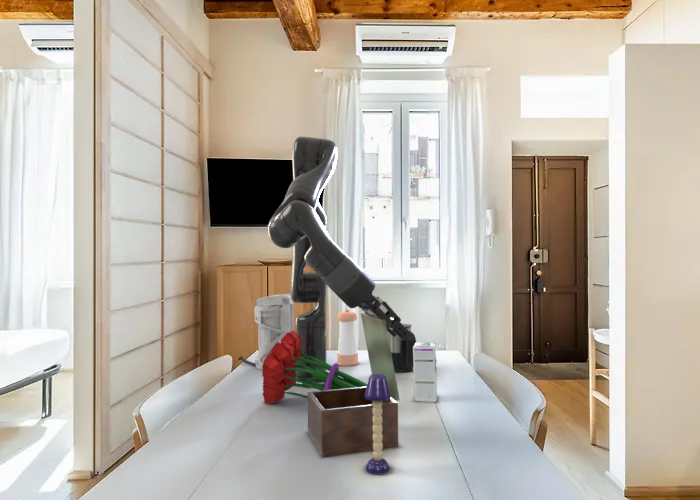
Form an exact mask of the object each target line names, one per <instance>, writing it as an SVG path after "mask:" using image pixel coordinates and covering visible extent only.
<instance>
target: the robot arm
mask: <svg viewBox="0 0 700 500" xmlns="http://www.w3.org/2000/svg"><path fill="white" fill-rule="evenodd" d="M291 158H292V160H291V161H292V181H291V183H290V184H289V186H288V189H287V191H286V194H285V196H284V199H283V201H282V202H281V204H280V205H279V206H278V208H277V209H276V210H275V212H274V214H273V215H272V216H271V218H270V219H269V222H268V226H267V233H268V237H269V238H270V240H271V242H272V243H273V244H274V245H275V246H277V247H278V248H281V249H290V248H292V260H291V271H290V283H289V294H290V296H291V299H292V301H293V303H295V304H315V305H314V307H312V308H311V309H310V310H308V311H305V312H304V313H301V314H299V315H297V316H296V317H295V322H294V323H295V332H296V333H297V334H298V335H300V337H301V346H302V348H301V351H303V353H304V354H305V355H307V356H310V357H313V358H316V359H319V360H321V361H324V362H326V363H327V364H328V362H327V361H328V359H327V357H328V355H327V354H328V353H327V289H328V288H329V290H331V292H333V293H334V294H335V295H336V296H337V297H338V298H339V299H340V300H341V301H342V302H343V303H344V304H345V305H346V306H347V307H348V309H356V308H359V309H360V310H361V311H362V313H363V312H364V313H366V314H368V315H372V316H373V317H375V318H376V317H379V318H381V319H384V320H385V322H386V325H387V326H388V327H389V328H388V329H387V331H388V332H389V333H390V334H391V335H392V336H393V337H396V336H397V335H398V337H399V338H400V339H401V340H403V341H406V340H407V338H408V337H409V336H410V332H409V331H408V330H407V329H406V328H405V327H404V326H403V325H402V324H403V323H402V322H401V321H402V319H401V317H400V316H399V315H398V314H396V312H395V311H394V310H393V308H392V307H391V306H389V304H388V302H387V301H385V300H383V299H382V298H381V297H379V296H375V295H374V294H373V291H374V290H375V288H376V283H375V281H374V280H373V279H372V278H371V277H370V276H369V275H368V274H367V273H366V272H365V271H364V270H363V269H362V268H361V267H360V266H359V265H358V263H356V262H355V261H354V260H353V259H352V258H351V257H350V256H348V255H347V254H346V253H345V252H344V251H343V250H342V249H341V248H340V247H339V246H338V245H337V244H336V243H335V242H334V241H333V239H332V238H331V237H330V235H329V233H328V231H327V230H326V228H327V216H326V214H325V211H324V209H323V208H322V206H321V204H320V202H319V198H320V195H321V193H322V191H323V189H324V188H325V186H327V183H328V182H329V180H331V177H332V175H333V174H334V172H335V169H336V165H337V160H338V147H337V144H336V143H335V141H333V140H331V139H327V138H319V137H311V136H298V137H296V139H295V140H294V142H293V145H292V157H291ZM307 265H308V266H309V267H310V269H311V270H312V271H314V272H304V271H305V268H306V267H307ZM327 287H328V288H327ZM390 318H392V319H394V320H393V321H392V322H390V321H389V320H390ZM400 322H401V323H400ZM300 359H305V357H303V356H301V357H300ZM308 359H309V358H308ZM237 360H238V361H242V362H243V363H245V364H247V365H250V366H253V367H256V364H255V362H253V361H250V360H247V359H245V358H244V356H243V355H240V356H239V357H238V359H237ZM309 360H311V359H309ZM298 361H299V360H298ZM312 361H314V360H312ZM299 362H301V363H302V364H303V365H305V366H308V367H312V366H311V365H310V364H309V363H308V362H304V361H299ZM296 364H297V365H300V364H299V363H298V362H296ZM313 365H314V366H315V368H319V369H321V370H324V371H326V372H328V370H326V369H324V368H322V367H321V366H319V365H316V364H313ZM294 368H298V369H305V368H301V367H294ZM295 372H296V373H295ZM294 373H295V375H298V376H301V377H304V378H315V377H314V376H313V375H312V374H311V373H308V372H301V371H294ZM294 377H295V376H294ZM295 378H296V379H300V378H298V377H295ZM303 382H306V381H303ZM313 382H315V383H317V384H321V385H325V384H326V383H324V382H320V381H313ZM306 383H308V382H306ZM295 384H302V383H299V382H297V381H295ZM308 384H310V383H308Z"/></svg>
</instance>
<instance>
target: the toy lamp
mask: <svg viewBox="0 0 700 500" xmlns="http://www.w3.org/2000/svg"><path fill="white" fill-rule="evenodd" d="M366 384H367V388H366V392H365V398H366V399H368V400H371V401H373V402H372V403H373V415H374V416H373V432H374V433H373V441H374V442H373V450H372V457H371V458H370V459H369V460H368V461H367V462H366V466H365V471H366V472H368V473H369V474H372V475H384V474H387V473H389V471H390V470H391V468H390V465H389V463H388V461H387V459H385V458H383V457H384V452H383V449H382V448H383V444H382V439H383V436H382V416H381V415H382V407H381V406H382V401H385V400H389V399H390V398H392V397H391V394H390V390H389V386H388V382H387V378H386V376H385V375H383V374H372V373H371V374H370V375H369V377H368V381H367V383H366Z"/></svg>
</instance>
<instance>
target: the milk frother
mask: <svg viewBox="0 0 700 500" xmlns="http://www.w3.org/2000/svg"><path fill="white" fill-rule="evenodd" d="M401 324H402V325H403V326H404V327H405V328H406V329H407V330H408V331H409V332H410V336H409V337H408V338H407V340H406V341H403V340H401V339H400V338H399V337H398V335H397V336H396V337H393V336H392V335H391V334H390V333H389V332H388V331H387V333H388V339H389V344H390V350H391V355H392V361H393V366H394V372H395V373H404V372H410V371H412V370H414V369H413V346H414V344H415V343H417V339H416V335H415V334H414V332H413V331H412V327H413V326H412V324H411V323H401ZM436 363H437V359H436Z"/></svg>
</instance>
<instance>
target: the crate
mask: <svg viewBox="0 0 700 500" xmlns="http://www.w3.org/2000/svg"><path fill="white" fill-rule="evenodd" d="M366 388H367V386H366V387H355V388H345V389H334V390H323V391H321V390H314V391H307V394H306V395H307V396H308V398H307V434H308V436H309V437H310V439H311V440H312V443H313V444H314V446H315V447H316V449H317V451H318V452H319V454H320V455H321V458H325V457H333V456H342V455H347V454H348V455H349V454H356V453H363V452H371V451H372V452H373V451H374V450H373V442H374V441H373V433H374V432H373V416H374V415H373V403H372V402H373V401H371V400H368V399H366V398H365V392H366ZM381 407H382V415H381V416H382V436H383V439H382V444H383V448H382V450H387V449H393V448H399V403H398V401H396V400H394V399H393V398H392V397H391V398H390V399H389V400H385V401H382V406H381Z"/></svg>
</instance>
